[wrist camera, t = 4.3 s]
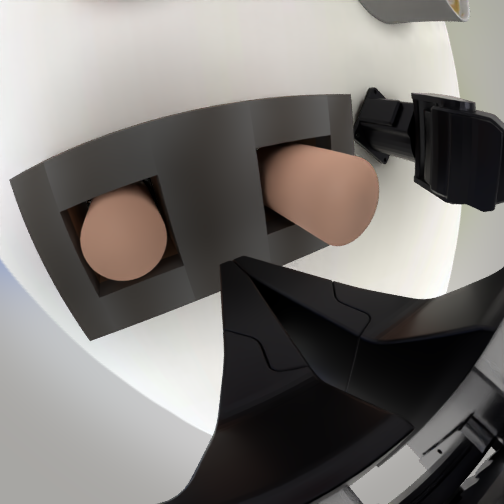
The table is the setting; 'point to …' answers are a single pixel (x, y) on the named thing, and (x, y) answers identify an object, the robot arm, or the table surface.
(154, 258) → the peg
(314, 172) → the peg
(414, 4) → the coffee mug
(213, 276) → the block
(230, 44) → the table surface
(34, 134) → the table surface
